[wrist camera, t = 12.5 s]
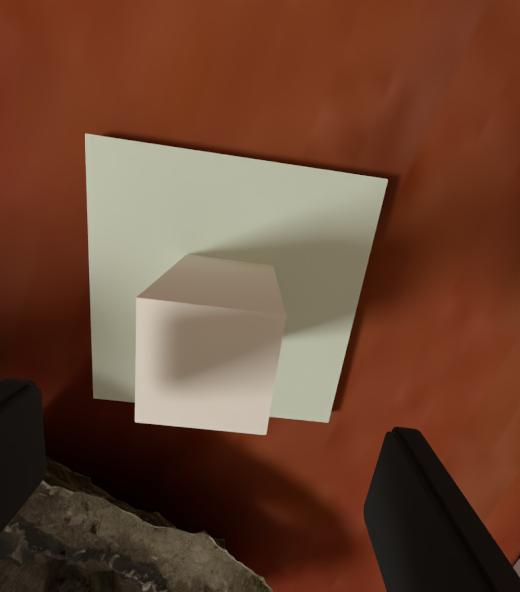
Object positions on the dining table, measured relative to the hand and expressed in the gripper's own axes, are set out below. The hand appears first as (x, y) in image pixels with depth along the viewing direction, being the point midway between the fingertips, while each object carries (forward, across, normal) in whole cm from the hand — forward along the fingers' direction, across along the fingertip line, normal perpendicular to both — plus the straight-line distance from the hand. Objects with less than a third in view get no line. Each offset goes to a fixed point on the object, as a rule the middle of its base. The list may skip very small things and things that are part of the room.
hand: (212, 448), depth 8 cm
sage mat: (+12, +1, -1) cm, 12 cm away
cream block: (+11, +1, -1) cm, 11 cm away
